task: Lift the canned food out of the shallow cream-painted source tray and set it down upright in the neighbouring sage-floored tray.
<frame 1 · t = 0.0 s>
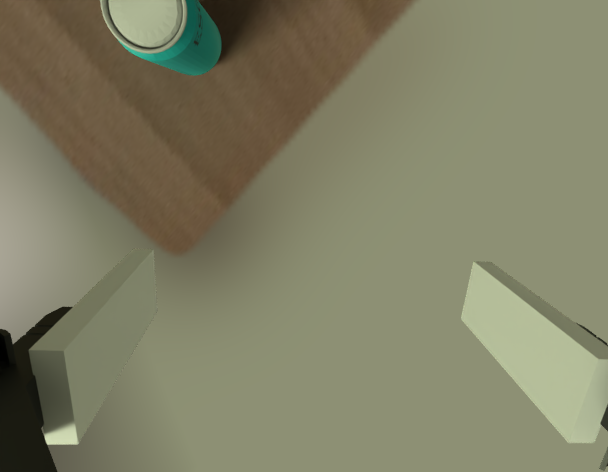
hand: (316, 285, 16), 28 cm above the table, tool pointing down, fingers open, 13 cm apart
beverage can: (195, 45, 38), on the table
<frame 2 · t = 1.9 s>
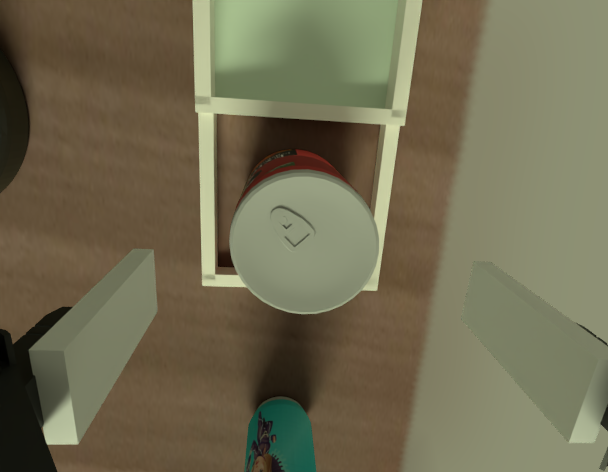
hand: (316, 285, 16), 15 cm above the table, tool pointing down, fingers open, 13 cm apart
beverage can: (279, 413, 37), on the table
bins: (300, 110, 28), on the table
canned food: (295, 198, 30), resting in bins
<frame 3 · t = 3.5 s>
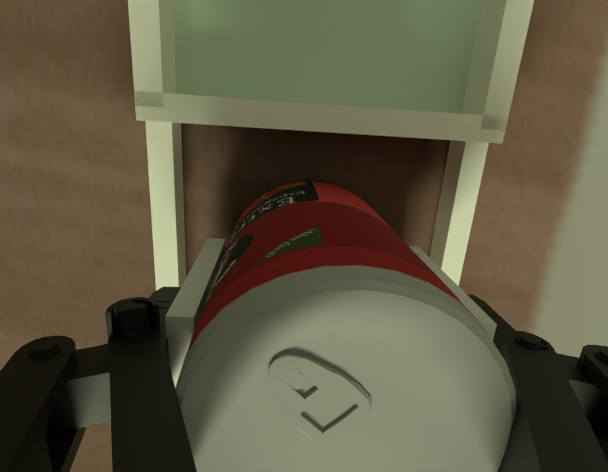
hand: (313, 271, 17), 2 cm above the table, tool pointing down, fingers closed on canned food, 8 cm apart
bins: (320, 116, 17), on the table
canned food: (309, 255, 19), resting in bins, touching gripper
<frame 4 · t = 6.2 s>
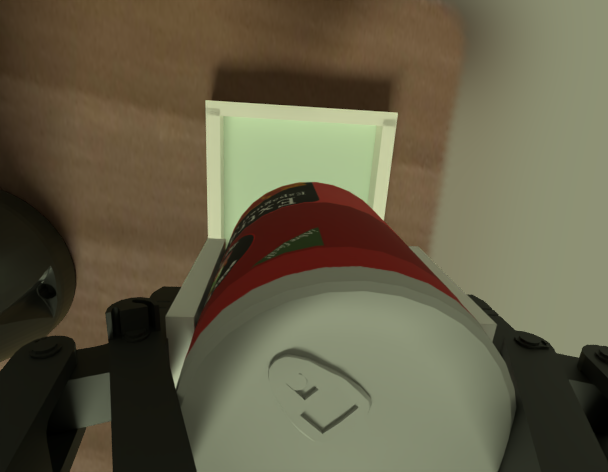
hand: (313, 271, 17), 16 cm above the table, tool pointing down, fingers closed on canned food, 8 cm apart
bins: (292, 265, 34), on the table
canned food: (309, 255, 19), point 14 cm above the table, touching gripper
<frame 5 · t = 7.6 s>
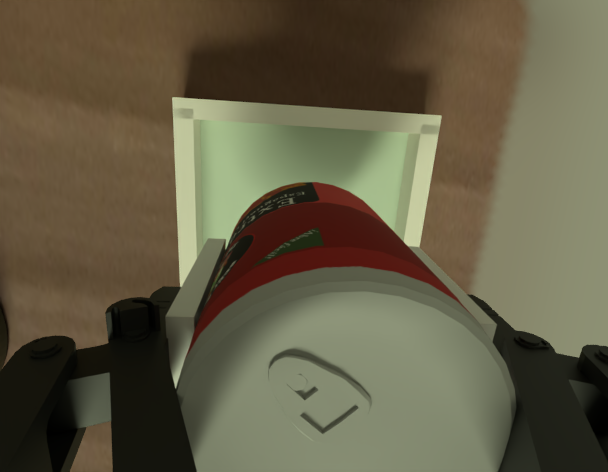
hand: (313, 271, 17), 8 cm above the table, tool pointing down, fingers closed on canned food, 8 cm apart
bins: (294, 312, 26), on the table
canned food: (309, 255, 19), point 6 cm above the table, touching gripper
when the fingers open (4 cm above the table, at t = 8.8 s): canned food drops 2 cm, resting on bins.
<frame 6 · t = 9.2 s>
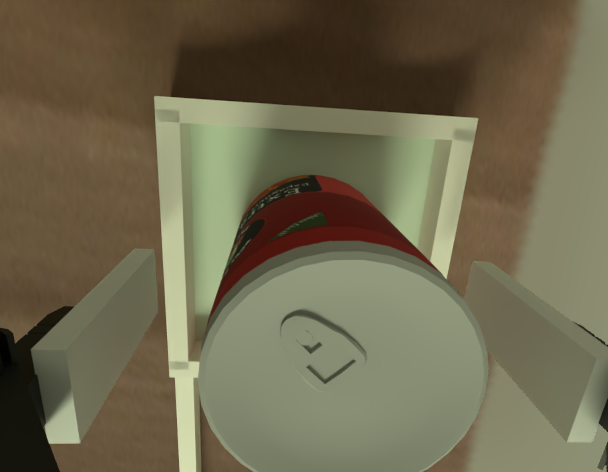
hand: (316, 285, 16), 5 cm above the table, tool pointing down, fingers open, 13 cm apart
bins: (299, 343, 23), on the table
canned food: (310, 243, 21), resting on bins
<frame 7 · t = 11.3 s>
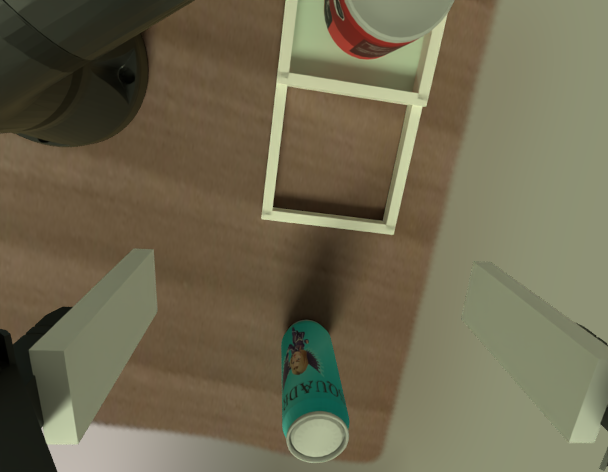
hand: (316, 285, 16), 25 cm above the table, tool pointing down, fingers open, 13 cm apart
beverage can: (305, 335, 46), on the table
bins: (349, 90, 37), on the table
canned food: (364, 13, 35), resting on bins
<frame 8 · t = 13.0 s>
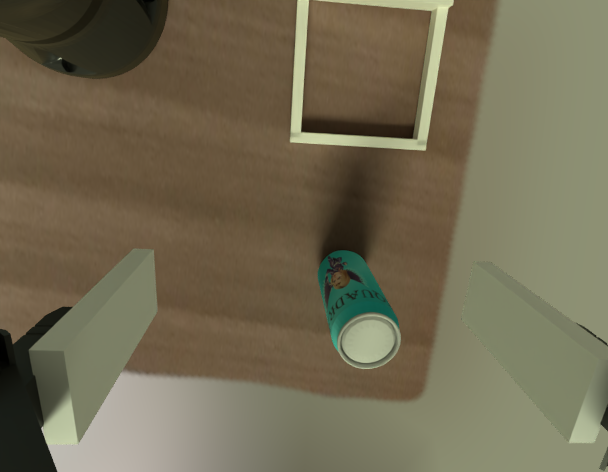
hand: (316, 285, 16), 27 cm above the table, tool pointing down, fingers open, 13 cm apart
beverage can: (340, 267, 45), on the table
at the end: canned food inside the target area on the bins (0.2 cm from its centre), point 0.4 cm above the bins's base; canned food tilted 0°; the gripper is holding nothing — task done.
